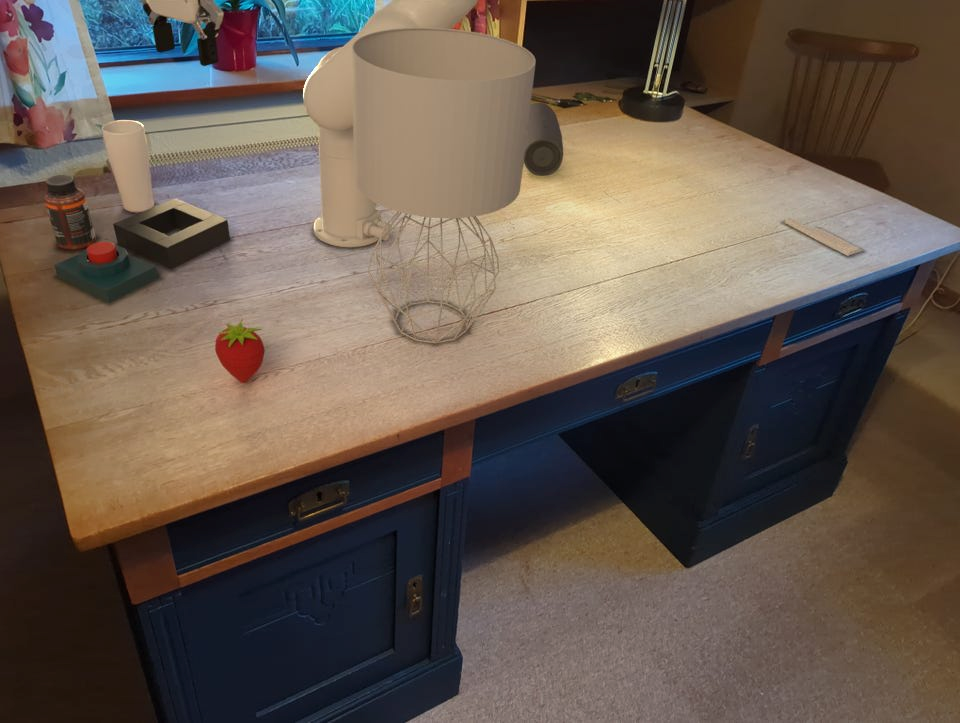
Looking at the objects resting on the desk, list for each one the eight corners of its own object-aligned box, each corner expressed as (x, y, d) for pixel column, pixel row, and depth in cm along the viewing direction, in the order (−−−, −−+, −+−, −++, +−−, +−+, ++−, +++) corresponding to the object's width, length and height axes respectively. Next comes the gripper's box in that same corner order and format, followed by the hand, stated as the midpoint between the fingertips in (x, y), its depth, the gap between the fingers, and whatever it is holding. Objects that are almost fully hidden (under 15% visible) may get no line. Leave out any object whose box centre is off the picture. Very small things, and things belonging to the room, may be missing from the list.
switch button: (123, 256, 118) (120, 246, 117) (100, 267, 115) (98, 257, 114) (105, 248, 119) (103, 238, 118) (83, 258, 117) (80, 248, 116)
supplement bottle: (104, 239, 129) (89, 176, 122) (79, 254, 124) (61, 190, 117) (75, 231, 130) (58, 168, 123) (49, 246, 125) (30, 182, 119)
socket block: (230, 240, 132) (227, 219, 129) (171, 269, 123) (167, 247, 120) (178, 218, 137) (174, 197, 134) (117, 245, 128) (112, 223, 125)
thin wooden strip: (800, 218, 158) (802, 213, 157) (862, 251, 148) (864, 246, 147) (784, 222, 155) (786, 217, 155) (846, 256, 146) (849, 251, 145)
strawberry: (253, 359, 106) (245, 298, 100) (277, 388, 101) (270, 327, 95) (211, 373, 103) (201, 311, 97) (234, 403, 98) (225, 341, 92)
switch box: (158, 278, 120) (153, 256, 118) (109, 303, 114) (103, 280, 112) (107, 254, 125) (102, 233, 122) (57, 277, 118) (50, 254, 116)
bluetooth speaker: (561, 183, 162) (568, 138, 156) (518, 180, 162) (523, 134, 156) (555, 144, 180) (561, 101, 174) (516, 140, 180) (520, 98, 174)
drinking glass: (146, 218, 136) (129, 136, 127) (111, 211, 137) (92, 130, 127) (166, 202, 141) (151, 123, 132) (132, 196, 142) (115, 117, 133)
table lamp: (383, 379, 105) (384, 85, 81) (340, 295, 121) (330, 29, 97) (527, 350, 113) (568, 76, 89) (469, 275, 129) (490, 25, 105)
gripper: (232, -58, 110) (245, 64, 120) (149, -76, 116) (168, 41, 126) (191, -53, 104) (208, 74, 115) (107, -72, 111) (130, 50, 121)
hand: (187, 57), depth 120 cm, fingers open, 9 cm apart
